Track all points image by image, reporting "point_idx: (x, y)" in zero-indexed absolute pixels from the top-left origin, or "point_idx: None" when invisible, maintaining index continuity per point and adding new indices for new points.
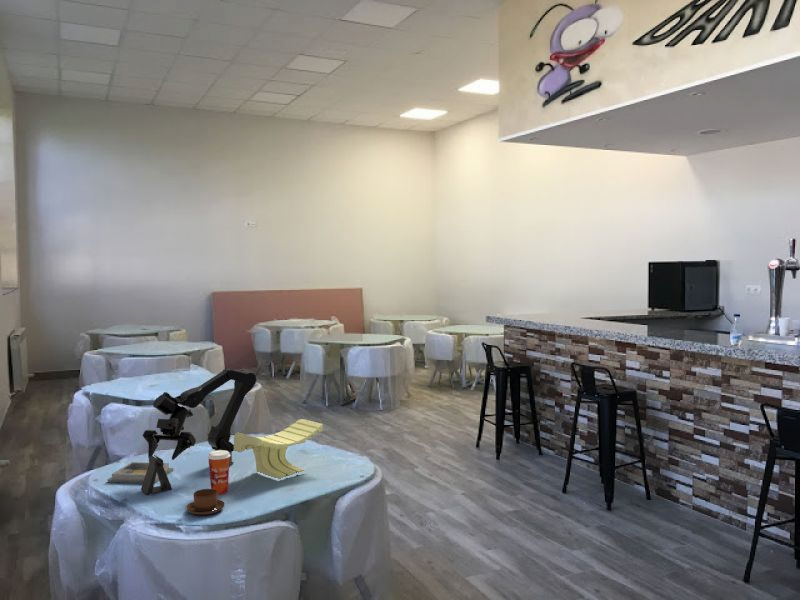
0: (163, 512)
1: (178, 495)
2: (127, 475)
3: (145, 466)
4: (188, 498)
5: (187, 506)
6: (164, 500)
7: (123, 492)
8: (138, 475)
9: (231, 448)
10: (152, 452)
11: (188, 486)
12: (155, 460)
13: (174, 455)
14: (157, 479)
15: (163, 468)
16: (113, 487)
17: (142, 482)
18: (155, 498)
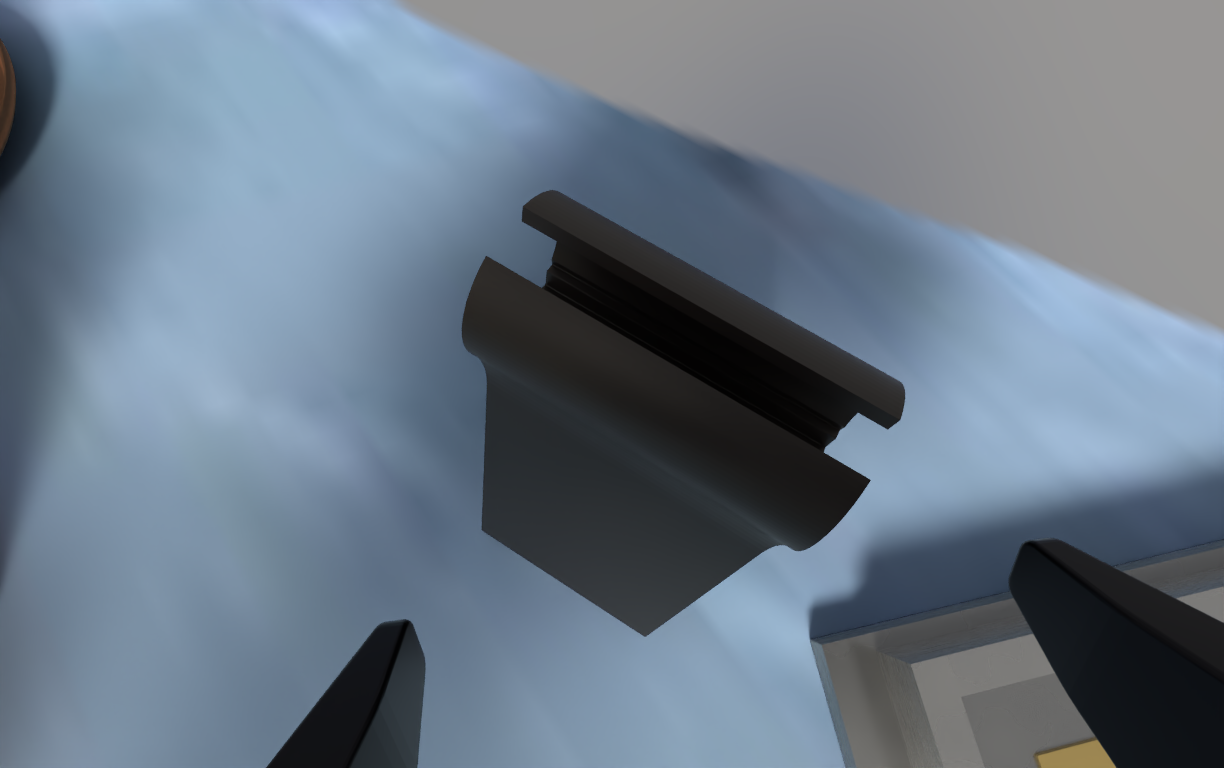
0: (233, 33)
1: (317, 395)
2: (1207, 584)
3: None
4: (172, 352)
5: (4, 69)
6: (377, 245)
7: (900, 308)
8: None
9: None
10: (1152, 744)
11: None
12: (566, 197)
13: (324, 698)
14: (846, 741)
15: (491, 387)
16: (1117, 398)
17: (953, 608)
18: None
